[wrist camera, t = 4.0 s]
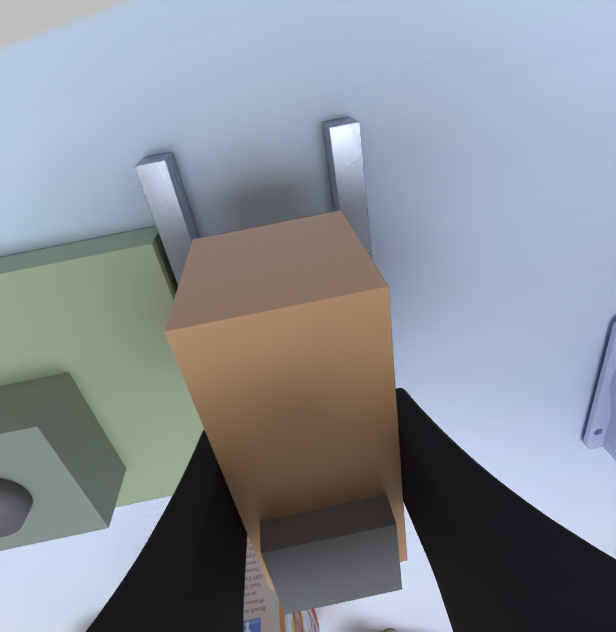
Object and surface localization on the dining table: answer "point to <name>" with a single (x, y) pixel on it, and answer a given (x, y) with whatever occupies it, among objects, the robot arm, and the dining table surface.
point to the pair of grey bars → (177, 218)
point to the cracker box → (269, 604)
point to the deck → (88, 386)
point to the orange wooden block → (299, 401)
